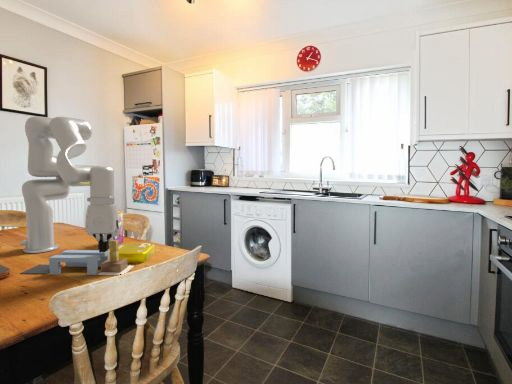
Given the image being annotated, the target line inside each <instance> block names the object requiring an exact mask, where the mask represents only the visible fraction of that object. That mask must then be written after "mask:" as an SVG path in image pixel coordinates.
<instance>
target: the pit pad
mask: <svg viewBox="0 0 512 384" xmlns="http://www.w3.org/2000/svg"><path fill="white" fill-rule="evenodd" d="M60 265H61V267H63V266H64V264H60ZM47 274H50V266H49V264H42V263H41V264H38V265H35V266H33V267H29V269H26V270H24V271H21V272H20V273H19V275H47Z"/></svg>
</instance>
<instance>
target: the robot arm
mask: <svg viewBox="0 0 512 384" xmlns="http://www.w3.org/2000/svg"><path fill="white" fill-rule="evenodd" d="M24 133H25V135H26V138H27V142H28V152H27V154H28V155H27V172H28V174H29V175H31V176H32V177H36V178H41V179H30V180H29V179H28V180H26V181H25V182H23V184H22V185H21V193H22V196H23V201H24V206H25V218H26V219H25V220H26V222H25V223H26V239H23V240H21V242H19V245H20V246H25V247H24V248H23V252H24V254H25V253H26V254H38V253H39V254H40V253H46V252H51V251H55V250H57V249H58V248H59V244H58V243H55V233H54V232H55V231H54V215H53V214H54V213H53V209H52V207H51V206H50V205H49V203H48V202H47V201H54V200H64V199H66V198H67V197H68V196H69V194H70V189H71V187H73V188H74V187H89V188H90V189H89V197H87V198H86V200H87V202H89V203H90V204H89V205H87V210H86V212H85V213H86V215H85V232H86V233H87V235H88V236H90V237H94V239H96V241H97V246H98V249H97V250H99V252H100V253H101V252H102V253H104V252H106V251H108V250H110V247H109V240H110V238H111V237H114V236H117V235H119V232H118V230H119V217H118V211H117V210H118V207H117V204H115V171H114V168H112V167H111V166H100V165H85V164H84V165H83V164H82V165H81V164H80V165H79V164H75V165H74V164H72V163H71V161H70V160H72V159H74V158H77V157H80V156H81V155H83V154H84V153H85V152H86V150H87V143H86V141H87V140H89V139H91V137H92V134H93V130H92V127H91V125H90V123H89V122H88V121H86V120H84V119H81V118H75V117H67V116H56V117H46V116H36V115H35V116H31V117H29V118H27V119H26V121H25V125H24ZM50 139H52V140H55V142H56V143H57V145H58V147H59V149H60V150H59V152H58V154H57V155H54V144H53V143H52V142H51V140H50ZM48 178H49V179H48ZM50 178H53V179H50Z"/></svg>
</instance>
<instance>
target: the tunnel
mask: <svg viewBox="0 0 512 384" xmlns="http://www.w3.org/2000/svg"><path fill="white" fill-rule="evenodd" d="M109 252H110V249H108V251H106V252H104V253H102V252H101V253H100V252H99V249H94V250H93V249H92V250H91V249H87V250H86V249H66V250H64V251H61V253H60V254H54V255H51V256H50V257H48V261H49V262H48V265H49V266H50V272H49V275H60V274H62V273H61V272H62V269H61V268H62V266H61V265H62V264H61V263H64V264H65V267H69V268H70V267H71V268H72V267H78V268H79V267H81V268H82V267H83V268H84V267H86V271H87V272H86V275H87V276H97V275H98V273H99V271H98V268H101V263H103V262H104V261H106V260H108V259H109Z"/></svg>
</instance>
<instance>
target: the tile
mask: <svg viewBox="0 0 512 384" xmlns="http://www.w3.org/2000/svg"><path fill="white" fill-rule="evenodd" d="M134 267H135V265H130V264H129V265H128V267H127V268H125V269H124V270H123V271H122V272H101V271H99V272H98V274H97V275H99V276H121V275H120V274H124V273H125V274H126V273H128V272H129V271H130V270H132V269H133V268H134ZM125 274H124V275H125Z"/></svg>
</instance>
